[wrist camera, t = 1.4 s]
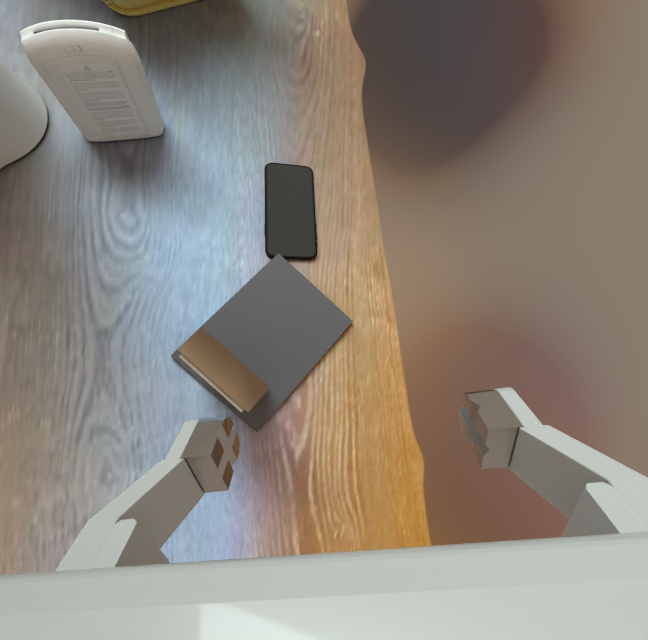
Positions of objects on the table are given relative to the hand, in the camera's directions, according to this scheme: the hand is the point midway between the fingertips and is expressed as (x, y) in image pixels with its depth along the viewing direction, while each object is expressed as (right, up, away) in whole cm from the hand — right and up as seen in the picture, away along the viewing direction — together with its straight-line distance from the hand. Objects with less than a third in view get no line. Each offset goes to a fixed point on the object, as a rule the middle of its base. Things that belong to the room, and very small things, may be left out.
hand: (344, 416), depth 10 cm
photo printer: (-28, +30, +30) cm, 51 cm away
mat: (-8, +1, +29) cm, 30 cm away
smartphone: (-6, +19, +33) cm, 39 cm away
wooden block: (-12, -3, +26) cm, 29 cm away
